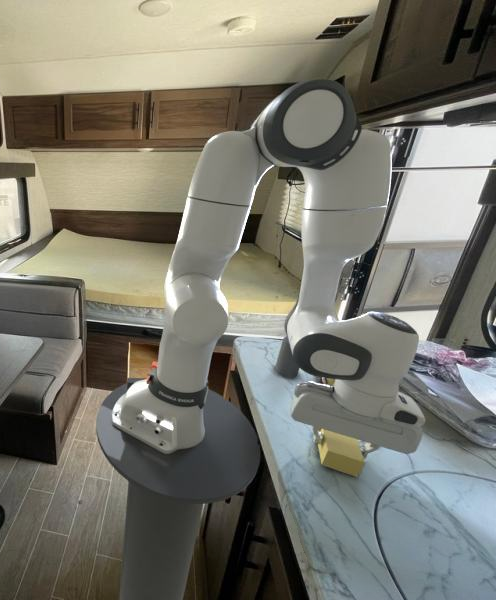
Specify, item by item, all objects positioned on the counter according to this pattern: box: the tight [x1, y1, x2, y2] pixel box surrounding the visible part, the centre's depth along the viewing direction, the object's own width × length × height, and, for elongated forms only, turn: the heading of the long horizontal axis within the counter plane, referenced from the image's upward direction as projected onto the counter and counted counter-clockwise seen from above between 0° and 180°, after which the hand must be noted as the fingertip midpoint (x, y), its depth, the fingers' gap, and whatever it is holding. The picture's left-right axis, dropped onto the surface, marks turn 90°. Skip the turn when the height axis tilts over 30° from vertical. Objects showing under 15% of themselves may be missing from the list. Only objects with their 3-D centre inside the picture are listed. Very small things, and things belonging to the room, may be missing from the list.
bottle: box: [274, 335, 300, 379], centre depth 92 cm, size 6×6×15 cm
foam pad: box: [317, 429, 366, 478], centre depth 66 cm, size 6×9×4 cm, turn 154°
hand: (338, 448), depth 66 cm, fingers closed on foam pad, 6 cm apart
